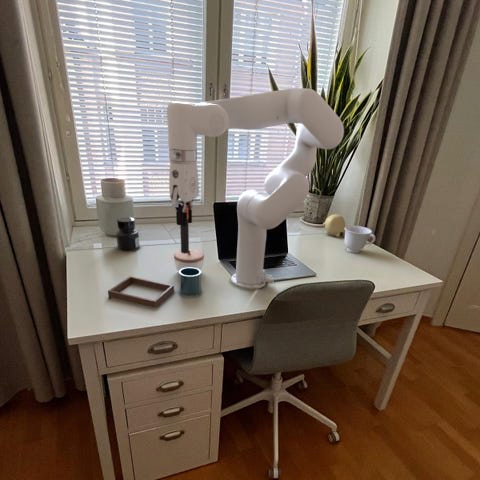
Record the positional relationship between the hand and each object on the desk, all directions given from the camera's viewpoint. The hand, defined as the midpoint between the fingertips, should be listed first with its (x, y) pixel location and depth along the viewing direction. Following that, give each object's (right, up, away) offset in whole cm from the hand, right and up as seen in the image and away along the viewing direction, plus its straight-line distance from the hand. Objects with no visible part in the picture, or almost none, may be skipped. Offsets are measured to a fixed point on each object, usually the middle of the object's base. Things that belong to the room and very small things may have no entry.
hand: (184, 223), depth 103 cm
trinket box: (-2, -12, +25) cm, 28 cm away
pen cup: (0, -20, +13) cm, 23 cm away
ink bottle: (-30, +2, +43) cm, 53 cm away
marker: (-1, -8, +5) cm, 9 cm away
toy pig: (+65, +15, +75) cm, 101 cm away
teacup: (+70, +2, +56) cm, 90 cm away
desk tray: (-15, -21, +9) cm, 27 cm away
